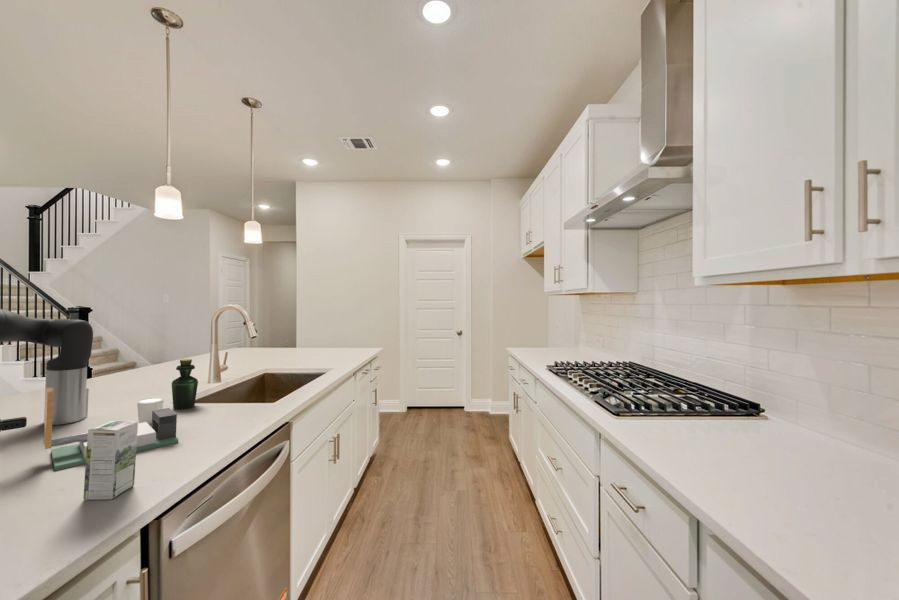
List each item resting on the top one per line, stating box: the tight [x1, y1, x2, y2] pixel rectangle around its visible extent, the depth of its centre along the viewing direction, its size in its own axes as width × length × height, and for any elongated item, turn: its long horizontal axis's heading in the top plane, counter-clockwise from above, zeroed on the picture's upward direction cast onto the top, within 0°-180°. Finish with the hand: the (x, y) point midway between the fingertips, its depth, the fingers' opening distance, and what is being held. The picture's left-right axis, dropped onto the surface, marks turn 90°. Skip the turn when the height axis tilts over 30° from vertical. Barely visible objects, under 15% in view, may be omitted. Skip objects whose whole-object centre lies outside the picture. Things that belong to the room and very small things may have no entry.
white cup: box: [136, 397, 165, 425], centre depth 120 cm, size 7×7×7 cm
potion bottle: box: [171, 358, 199, 410], centre depth 136 cm, size 8×8×18 cm
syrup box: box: [83, 420, 139, 501], centre depth 76 cm, size 6×6×14 cm
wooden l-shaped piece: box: [43, 387, 88, 450], centre depth 93 cm, size 12×6×14 cm, turn 140°
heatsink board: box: [50, 407, 179, 471], centre depth 98 cm, size 24×14×8 cm, turn 140°
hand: (26, 421), depth 86 cm, fingers closed
